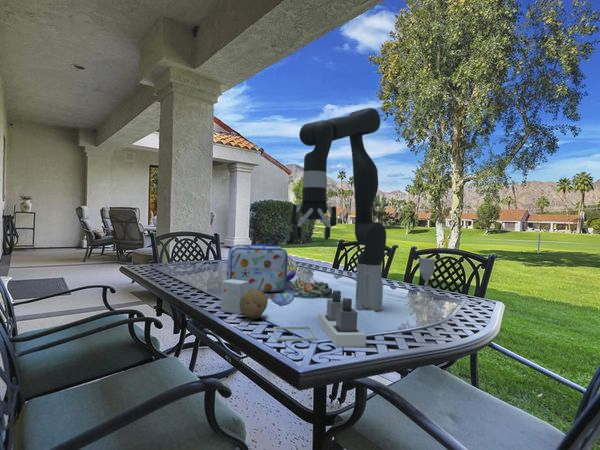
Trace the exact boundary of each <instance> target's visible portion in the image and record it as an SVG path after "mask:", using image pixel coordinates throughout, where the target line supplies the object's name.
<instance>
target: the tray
mask: <svg viewBox="0 0 600 450" xmlns="http://www.w3.org/2000/svg"><path fill="white" fill-rule="evenodd" d="M277 330H309V331H310V333H311V335H312V337H279V336H278V332H277ZM273 332H274V336H275V339H276V342H291V341H292V342H296V341H297V342H299V341H300V342H301V341H304V342H305V341H306V342H307V341H319V337H318V336H317V335H316V333H315V331H314V329H312V326H273Z"/></svg>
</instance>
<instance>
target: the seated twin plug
mask: <svg viewBox="0 0 600 450" xmlns="http://www.w3.org/2000/svg"><path fill="white" fill-rule="evenodd" d="M341 294H342V291H340V290H333V297H332V299H327V301H326V313H327V318H326V319H327V320H328V321H336V315H337V308H343V299H341V296H342V295H341Z"/></svg>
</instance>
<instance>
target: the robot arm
mask: <svg viewBox="0 0 600 450" xmlns="http://www.w3.org/2000/svg"><path fill="white" fill-rule="evenodd" d="M380 126H381V116H380V113H379V111H378V110H377V109H375V108H373V107H366V108H363V109H358V110H355V111H353V112H350V113H349V115H346V116H339V117H333V118H328V119H326V120H317V121H312V122H308V123H305V124H303V125H302V126H301V128H300V130H299V132H298V133H299V135H298V136H299V140H300V142H301V143H302V144H303V145H305V146H307V147H313V146H314V148H313V149H312V150H311V151H309V152H307V153H306V154H305V155H304V159H303V176H302V184H301V185H302V190H301V193H302V194H301V205H296V204H292V205H291V211H290V220H289V224H290V225H292V226H295V237H296V238H297V240H301V239H302V228H303V227H302V225H303V224H304V222H305V221H306V220H315V221H316V220H318V221H319V220H320V221H321V223H322V224H323V225H324V232H323V233H324V236H323V237H324V240H327V241H328V240H329V238H330V237H331V228H332V227H334V226H335V227H336V225H338V224H337V223H338V222H337V220H338V219H337V206H335V205H334V206H328V205H327V191H328V189H327V188H328V178H327V166H328V165H327V164H328V163H327V161H328V158H329V157H328V156H329V154H330V150H331V147H332V143H333V142H334V141H338V140H341V139H344V138H346V137H348V138H349V142H350V148H351V160H352V178H353V179H352V180H353V189H354V190H353V191H354V208H355V215H354V216H355V217H354V218H355V220H354V235H355V236H354V237H355V239H356V241H357V242H358V243H359V244H360V245H362V246H363V247H364V248H363V252H362V253H360V254H359V255H358V256H357V261H356V262H357V266H356V281H355V282H356V287H355V301H354V303H355V309H357V310H359V311H374V312H378V311H383V295H384V294H383V293H384V292H383V291H384V285H383V284H382V269H383V260H384V257H385V254H386V246H387V245H386V244H387V243H386V242H387V230H386V228H385V226H384V225H383V224H382V223H381V222H378V221H373V207H374V206H373V205H374V201H375V200H376V197H377V194H378V191H379V174H378V173H379V172H378V167H377V166H376V165H377V164H375V162H374V161H373V159H372V158H371V156H370V155H369V154H368V152H367V150H366V148H365V145H364V144H365V143H364V139H363V136H365V135H370V134H374V133H376V132H377V131H378V130H379V129H380ZM299 211H301V213H302V215H301V216H300V218H299V219H298V220H296V219H297V213H299ZM327 211H328V213H329V215H330V221H329V220H328V218H327V216H326V215H325V214H326V213H327Z"/></svg>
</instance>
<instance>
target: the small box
mask: <svg viewBox="0 0 600 450" xmlns="http://www.w3.org/2000/svg"><path fill="white" fill-rule="evenodd" d="M220 285H221V287H220V288H221V290H220V291H221V292H220V311H221V312H225V313H231V314H236V315H241V314H243V313H242V312H241V310H240V300H241V297H242V296H243V295H244V294H245V293H246V292H247V291H249V281H242V280H234V279H229V280H227V279H225V280H222V281H221V283H220Z"/></svg>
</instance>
